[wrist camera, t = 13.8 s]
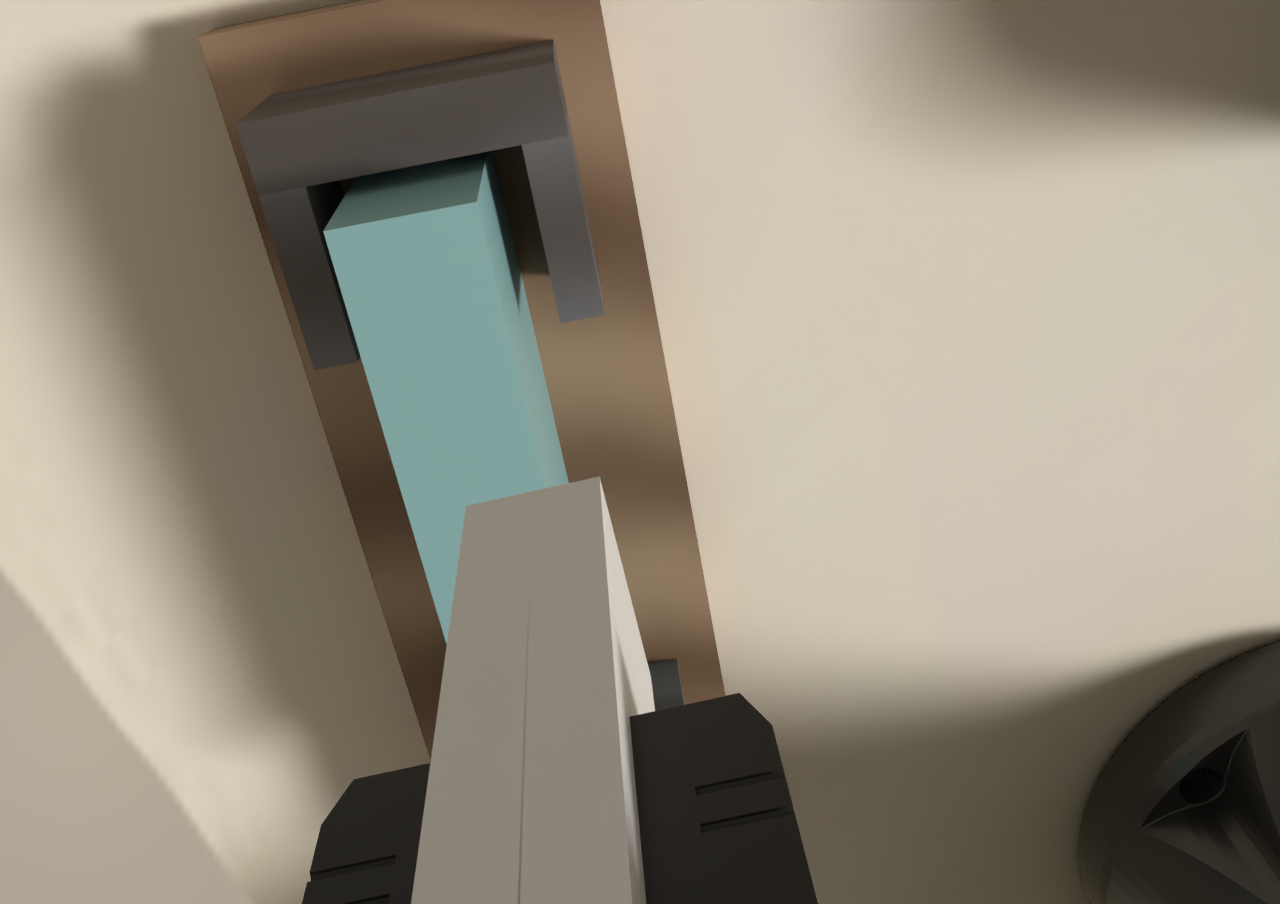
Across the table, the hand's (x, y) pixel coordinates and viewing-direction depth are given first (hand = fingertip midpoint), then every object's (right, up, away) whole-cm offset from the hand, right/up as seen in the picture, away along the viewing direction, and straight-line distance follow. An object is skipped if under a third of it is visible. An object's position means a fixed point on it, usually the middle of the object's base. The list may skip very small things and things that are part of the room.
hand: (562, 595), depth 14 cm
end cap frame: (-2, +1, +21) cm, 21 cm away
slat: (-3, +1, +19) cm, 19 cm away
